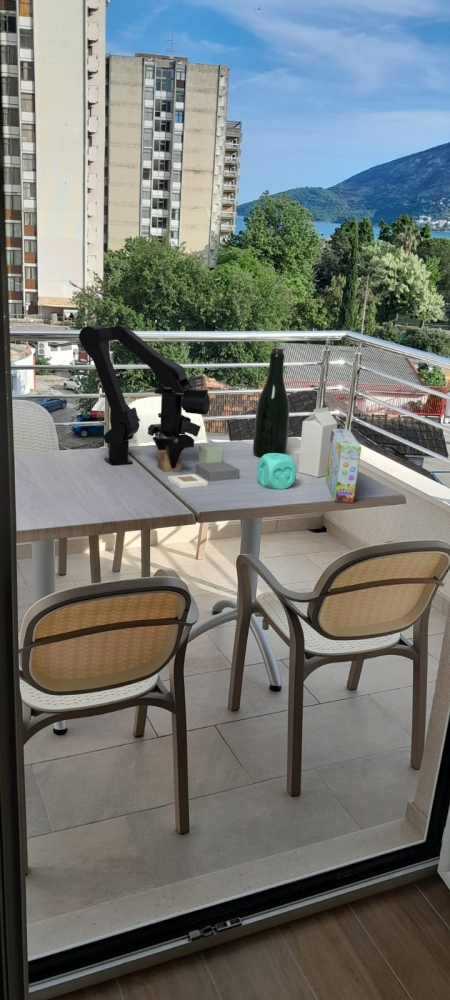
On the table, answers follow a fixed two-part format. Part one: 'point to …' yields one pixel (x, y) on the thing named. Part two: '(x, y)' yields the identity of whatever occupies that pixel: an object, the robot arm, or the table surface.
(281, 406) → the green wine bottle
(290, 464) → the decorative dice
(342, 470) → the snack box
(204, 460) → the sage cube
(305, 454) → the milk carton
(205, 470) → the charcoal base block
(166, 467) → the walnut cube
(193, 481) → the tile
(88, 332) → the robot arm
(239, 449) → the table surface
